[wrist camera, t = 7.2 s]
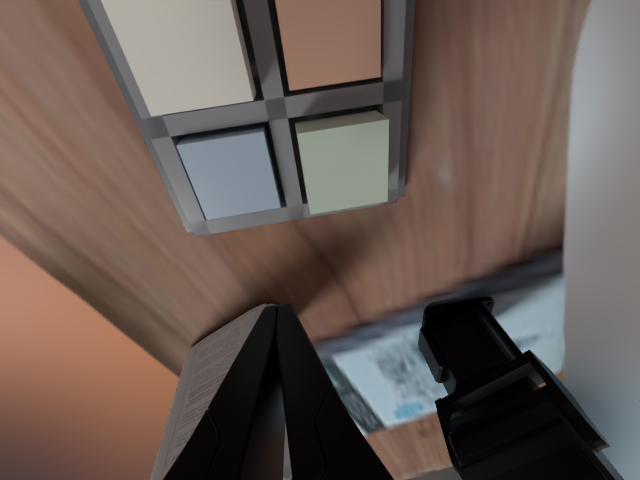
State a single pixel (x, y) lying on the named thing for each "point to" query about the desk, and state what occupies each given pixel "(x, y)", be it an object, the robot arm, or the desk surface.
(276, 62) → the keypad board
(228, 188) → the slate-blue key
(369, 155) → the sage key
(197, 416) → the photo printer
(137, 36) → the cream key
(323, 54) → the terracotta key
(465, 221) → the desk surface
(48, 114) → the desk surface
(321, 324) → the desk surface
